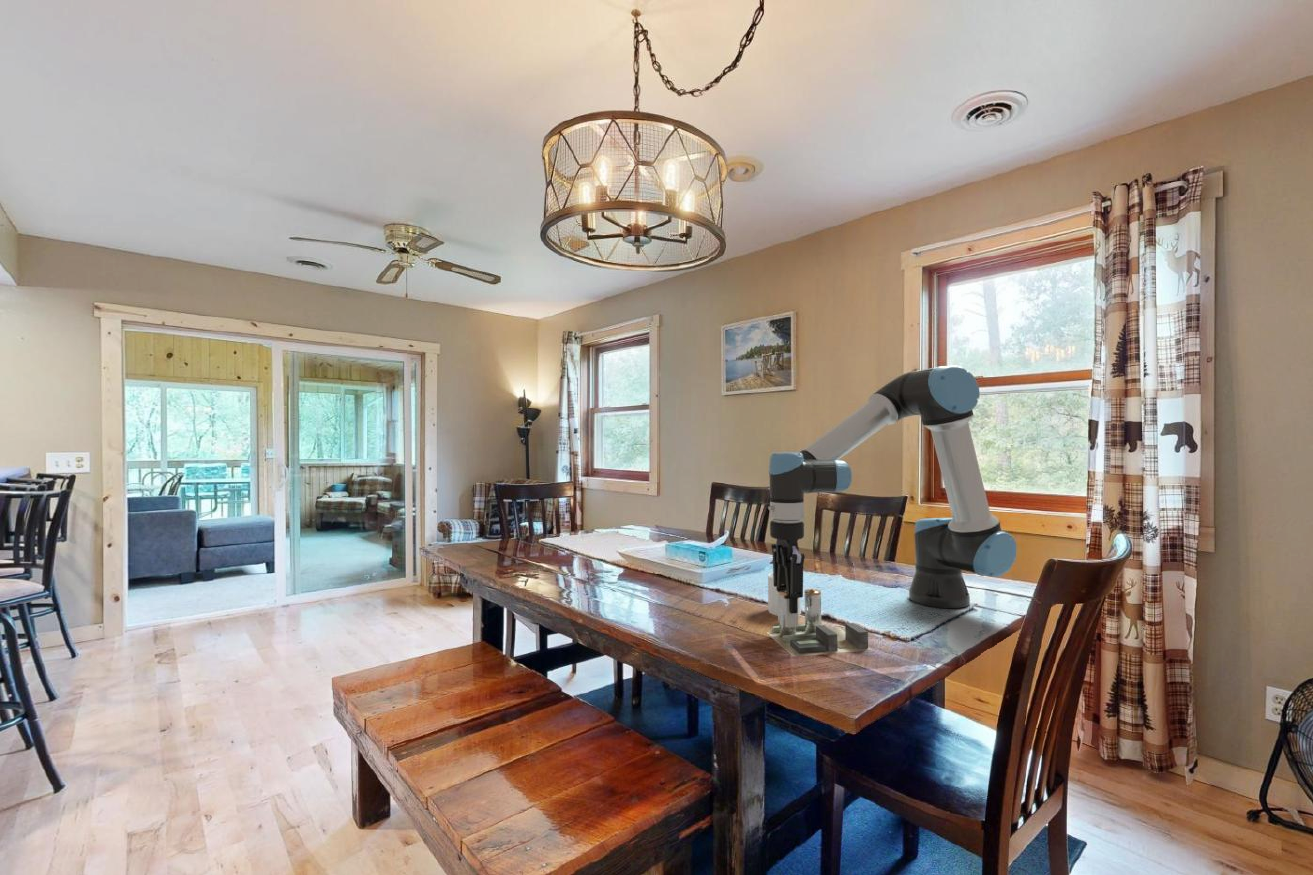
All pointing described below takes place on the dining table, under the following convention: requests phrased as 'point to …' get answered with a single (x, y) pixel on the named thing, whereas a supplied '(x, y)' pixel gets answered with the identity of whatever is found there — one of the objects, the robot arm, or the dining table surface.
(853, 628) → the grey battery holder
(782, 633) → the cylinder
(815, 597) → the cell
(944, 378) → the robot arm
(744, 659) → the dining table surface
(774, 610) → the mug
